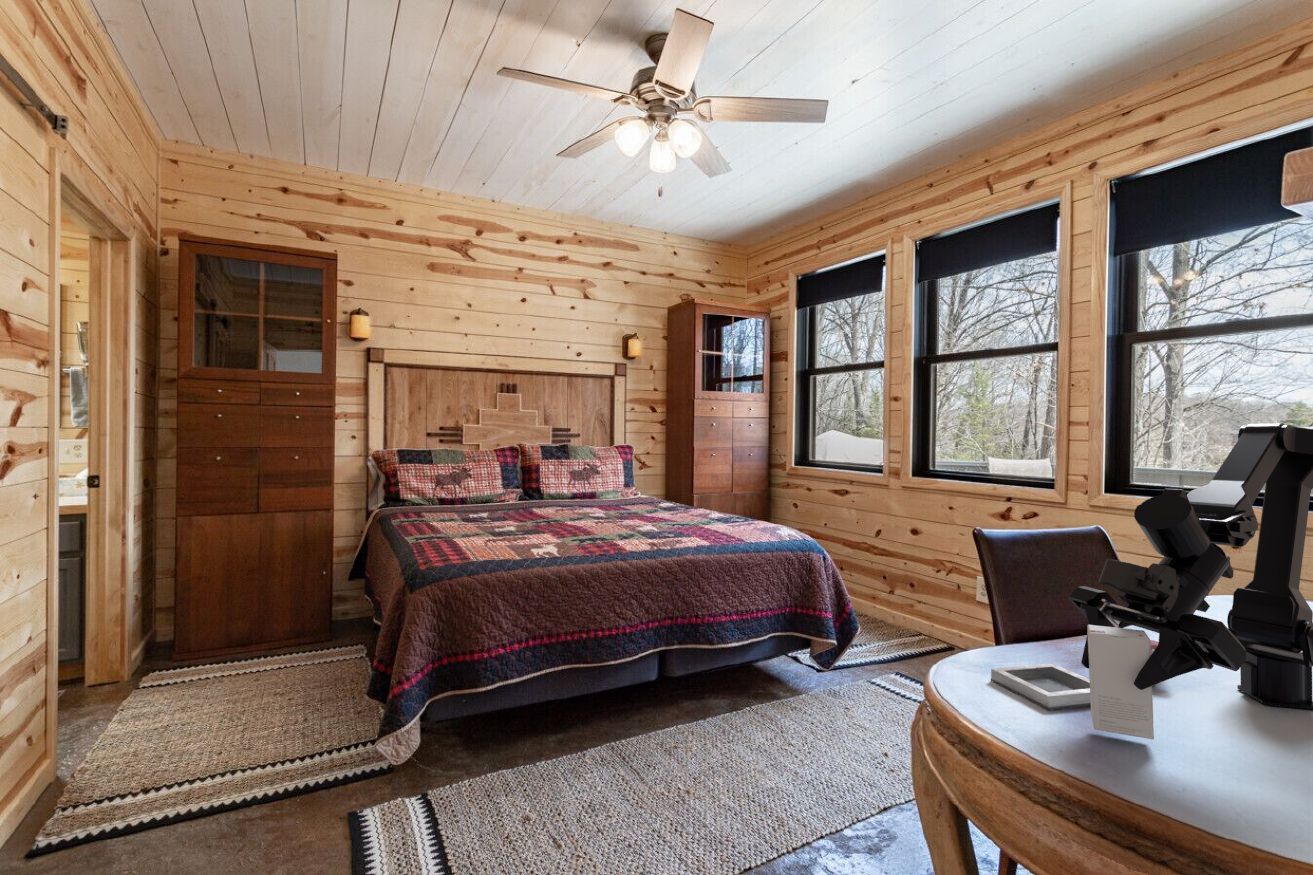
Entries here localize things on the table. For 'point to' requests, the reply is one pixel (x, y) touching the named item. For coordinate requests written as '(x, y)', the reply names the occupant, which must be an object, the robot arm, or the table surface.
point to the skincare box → (1119, 681)
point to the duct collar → (1045, 685)
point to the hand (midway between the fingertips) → (1109, 675)
